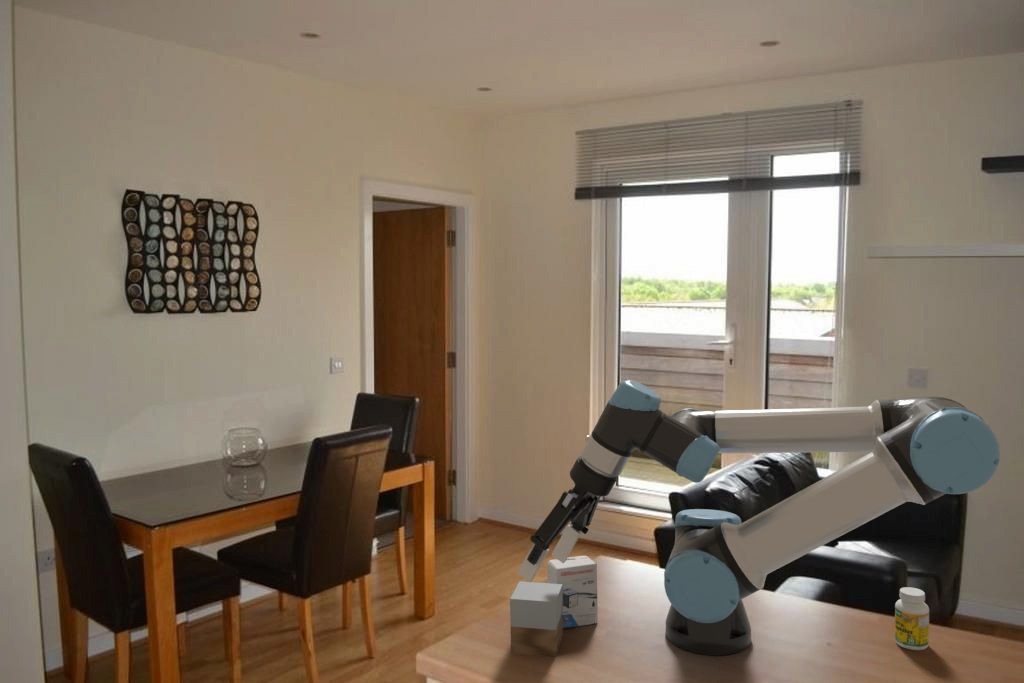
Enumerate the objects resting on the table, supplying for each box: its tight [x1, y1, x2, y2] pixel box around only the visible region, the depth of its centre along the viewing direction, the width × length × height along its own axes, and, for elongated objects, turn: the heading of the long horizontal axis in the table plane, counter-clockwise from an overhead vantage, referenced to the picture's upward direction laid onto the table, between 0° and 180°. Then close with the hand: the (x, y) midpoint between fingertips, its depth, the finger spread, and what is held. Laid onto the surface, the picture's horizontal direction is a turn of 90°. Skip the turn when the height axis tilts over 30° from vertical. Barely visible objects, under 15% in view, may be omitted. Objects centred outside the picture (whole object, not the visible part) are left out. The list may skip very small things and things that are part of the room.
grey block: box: [509, 580, 563, 630], centre depth 143 cm, size 8×8×5 cm
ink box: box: [546, 555, 599, 630], centre depth 152 cm, size 9×5×12 cm, turn 108°
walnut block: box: [510, 614, 564, 658], centre depth 143 cm, size 8×8×5 cm
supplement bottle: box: [894, 586, 930, 651], centre depth 141 cm, size 5×5×10 cm
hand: (541, 567), depth 140 cm, fingers open, 13 cm apart
